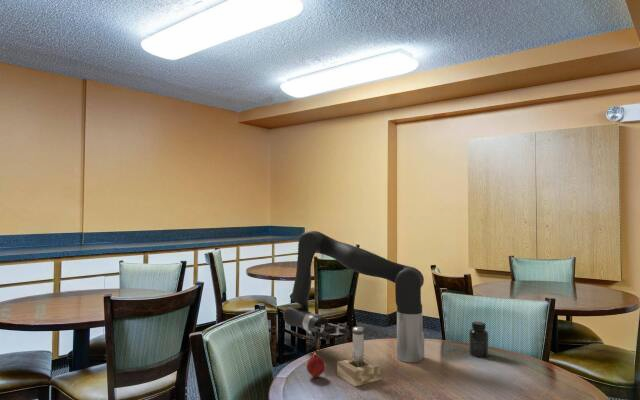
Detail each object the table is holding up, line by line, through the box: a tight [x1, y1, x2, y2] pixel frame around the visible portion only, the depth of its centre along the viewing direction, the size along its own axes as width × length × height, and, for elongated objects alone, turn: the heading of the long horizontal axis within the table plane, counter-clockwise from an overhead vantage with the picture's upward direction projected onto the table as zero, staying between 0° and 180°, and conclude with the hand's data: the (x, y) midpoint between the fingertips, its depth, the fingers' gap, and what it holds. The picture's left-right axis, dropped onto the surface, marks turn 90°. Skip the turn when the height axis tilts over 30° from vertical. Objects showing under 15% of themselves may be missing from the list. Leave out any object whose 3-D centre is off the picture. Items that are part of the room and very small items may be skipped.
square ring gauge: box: [336, 357, 381, 387], centre depth 135 cm, size 10×10×4 cm
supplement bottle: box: [468, 321, 489, 358], centre depth 158 cm, size 7×7×12 cm
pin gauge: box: [351, 326, 365, 368], centre depth 136 cm, size 4×4×15 cm
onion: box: [306, 352, 325, 379], centre depth 135 cm, size 6×6×8 cm
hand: (339, 335), depth 145 cm, fingers open, 8 cm apart
